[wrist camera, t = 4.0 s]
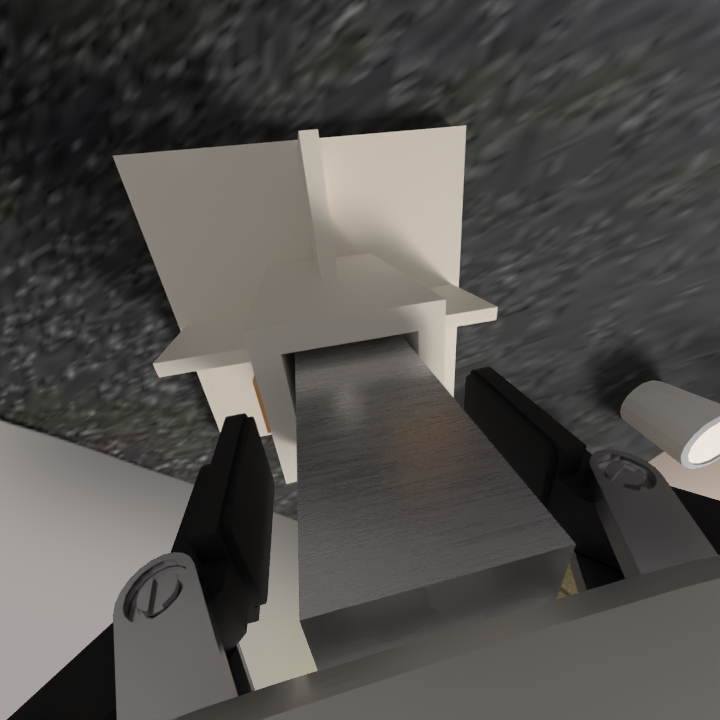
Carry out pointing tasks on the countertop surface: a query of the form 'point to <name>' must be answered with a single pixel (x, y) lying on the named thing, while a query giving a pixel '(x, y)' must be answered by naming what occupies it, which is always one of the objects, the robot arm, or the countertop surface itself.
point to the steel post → (406, 508)
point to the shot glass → (675, 422)
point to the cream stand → (303, 259)
